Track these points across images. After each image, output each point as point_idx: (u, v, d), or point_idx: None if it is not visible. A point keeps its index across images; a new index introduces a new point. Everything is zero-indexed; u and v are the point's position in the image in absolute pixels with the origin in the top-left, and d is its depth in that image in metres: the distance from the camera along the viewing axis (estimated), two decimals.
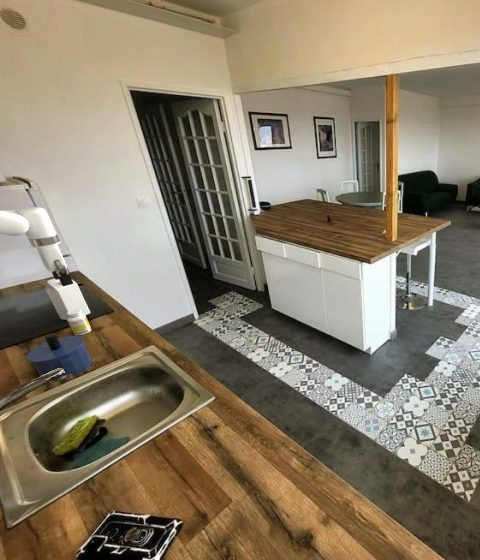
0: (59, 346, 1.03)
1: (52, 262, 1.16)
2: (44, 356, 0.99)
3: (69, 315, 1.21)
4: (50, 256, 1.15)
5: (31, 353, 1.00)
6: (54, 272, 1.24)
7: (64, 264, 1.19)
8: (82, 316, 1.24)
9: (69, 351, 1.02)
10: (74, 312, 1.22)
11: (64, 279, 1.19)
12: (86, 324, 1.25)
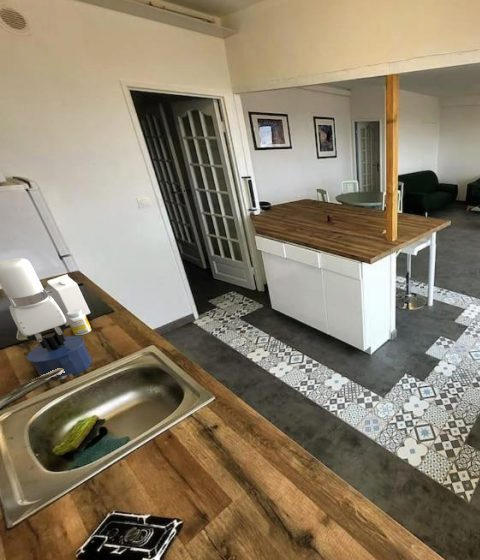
0: (59, 346, 1.03)
1: (15, 323, 0.95)
2: (44, 356, 0.99)
3: (69, 315, 1.21)
4: None
5: (31, 353, 1.00)
6: None
7: None
8: (82, 316, 1.24)
9: (69, 351, 1.02)
10: (74, 312, 1.22)
11: (40, 343, 1.00)
12: (86, 324, 1.25)
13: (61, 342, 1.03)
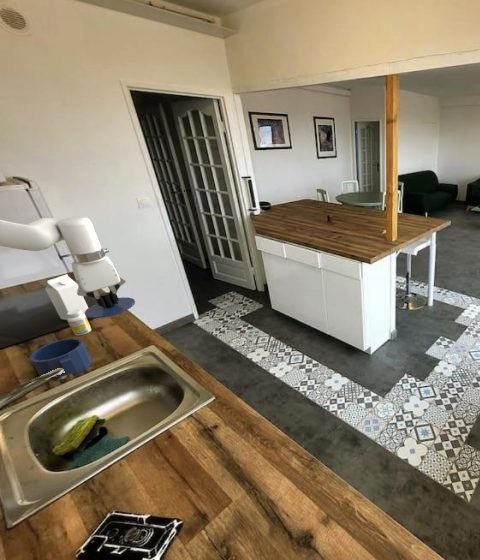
0: (113, 305, 1.08)
1: (76, 280, 1.00)
2: (101, 313, 1.04)
3: (69, 315, 1.21)
4: (74, 273, 0.99)
5: (88, 310, 1.06)
6: None
7: (87, 290, 1.01)
8: (82, 316, 1.24)
9: (123, 309, 1.07)
10: (74, 312, 1.22)
11: (96, 300, 1.05)
12: (86, 324, 1.25)
13: (115, 301, 1.08)
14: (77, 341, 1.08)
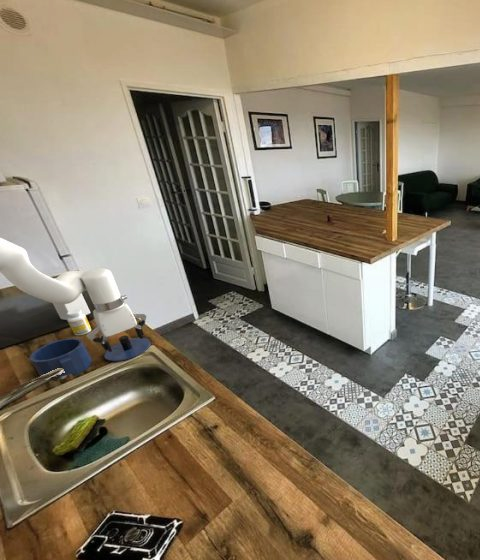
0: (130, 346, 1.16)
1: (97, 326, 1.08)
2: (120, 355, 1.12)
3: (69, 315, 1.21)
4: (95, 320, 1.07)
5: (107, 353, 1.13)
6: None
7: (102, 333, 1.07)
8: (82, 316, 1.24)
9: (140, 351, 1.15)
10: (74, 312, 1.22)
11: None
12: (86, 324, 1.25)
13: (141, 336, 1.17)
14: (77, 341, 1.08)
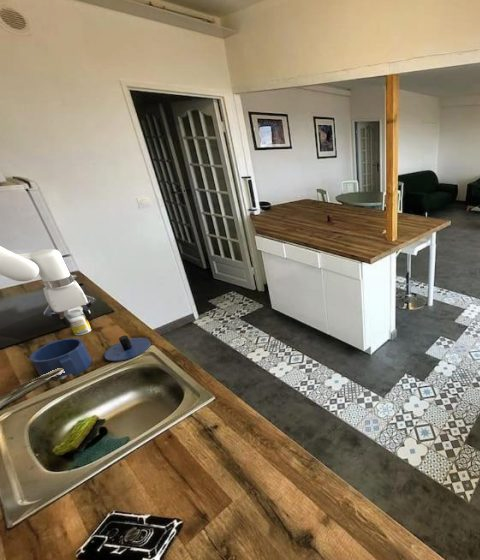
0: (130, 346, 1.16)
1: None
2: (120, 355, 1.12)
3: (69, 315, 1.21)
4: None
5: (107, 353, 1.13)
6: (83, 311, 1.26)
7: (55, 310, 1.17)
8: (82, 316, 1.24)
9: (140, 351, 1.15)
10: (74, 312, 1.22)
11: (61, 320, 1.21)
12: (86, 324, 1.25)
13: (87, 317, 1.25)
14: (77, 341, 1.08)
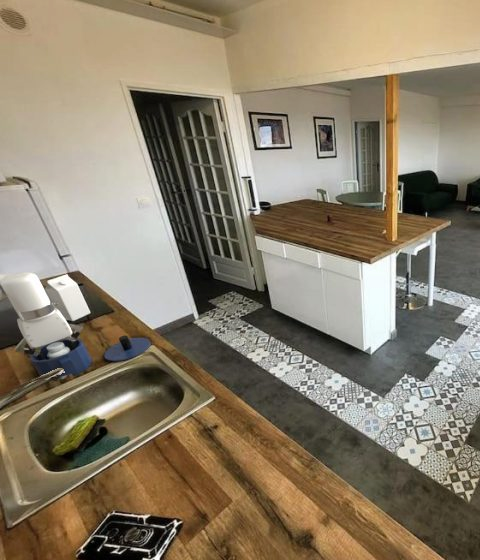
0: (130, 346, 1.16)
1: (23, 336, 0.97)
2: (120, 355, 1.12)
3: (49, 350, 1.01)
4: (20, 330, 0.96)
5: (107, 353, 1.13)
6: (69, 342, 1.06)
7: (30, 345, 0.97)
8: (65, 350, 1.04)
9: (140, 351, 1.15)
10: (55, 346, 1.02)
11: (37, 356, 1.00)
12: None
13: None
14: (77, 341, 1.08)
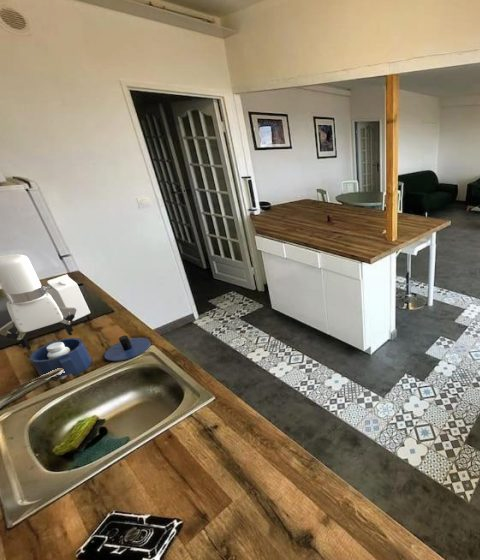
0: (130, 346, 1.16)
1: (12, 320, 0.94)
2: (120, 355, 1.12)
3: (49, 350, 1.01)
4: (9, 313, 0.93)
5: (107, 353, 1.13)
6: None
7: (17, 327, 0.94)
8: (65, 350, 1.04)
9: (140, 351, 1.15)
10: (55, 346, 1.02)
11: None
12: None
13: (69, 332, 1.04)
14: (77, 341, 1.08)
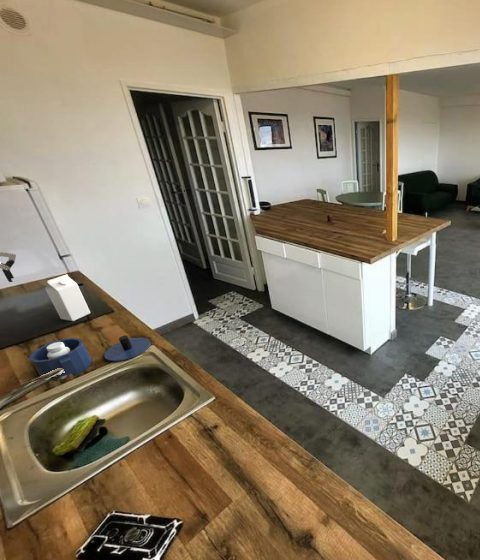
0: (130, 346, 1.16)
1: None
2: (120, 355, 1.12)
3: (49, 350, 1.01)
4: None
5: (107, 353, 1.13)
6: None
7: None
8: (65, 350, 1.04)
9: (140, 351, 1.15)
10: (55, 346, 1.02)
11: None
12: None
13: (8, 278, 0.99)
14: (77, 341, 1.08)
